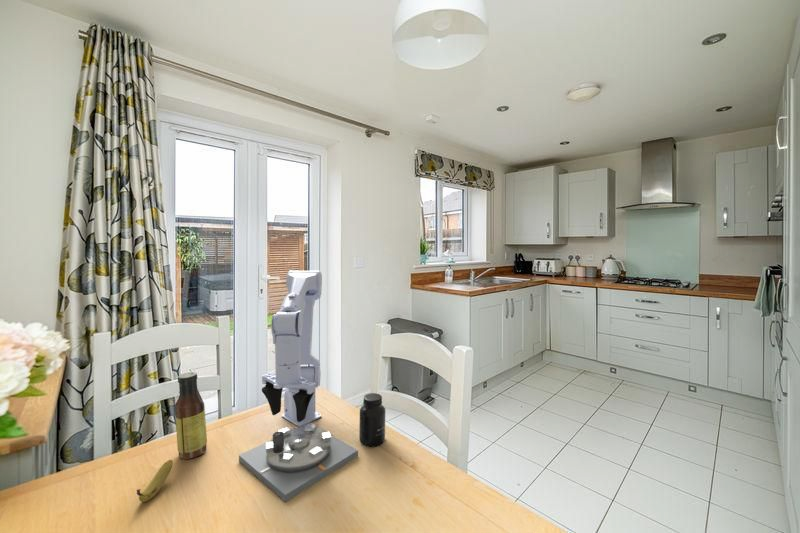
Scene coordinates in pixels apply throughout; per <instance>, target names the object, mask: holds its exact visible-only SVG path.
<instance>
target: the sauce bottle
mask: <svg viewBox="0 0 800 533" xmlns="http://www.w3.org/2000/svg"><path fill="white" fill-rule="evenodd" d="M197 380H198V373H197V372H196V371H190V372H184V373H181V374H179V375H178V376H177V382H178V385H179V386H178V388H179V392H178V393H179V396H178V398H177V401H176V402H175V404H174V409H175V415H174V416H175V428H176V429H175V430H176V431H175V432H176V442H177V451H178V457H179V458H181V459H184V460H190V459H195V458H197V457H199V456H201V455H202V454H204V453H205V452H206V451H207V446H208V445H207V444H208V436H207V435H208V434H207V422H206V410H205V409H206V407H205V402H204V401H203V398H202V396H201V393H200V392H199V389H198V381H197Z"/></svg>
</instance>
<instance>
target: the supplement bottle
mask: <svg viewBox="0 0 800 533" xmlns="http://www.w3.org/2000/svg"><path fill="white" fill-rule="evenodd" d="M382 400H383V396H382V395H381V394H379V393H377V392H376V393H374V392H370V393H366V394H365V395H364V396H363V400H362V401H363V402H362V403H363V405H362V406H361V407H360V409H359V426H358V427H359V432H358V433H359V442H360V444H361V446H364V447H367V448H377V447H380V446H381V445H383V444H384V443H385V440H386V407H385V406H384V405H383V401H382Z"/></svg>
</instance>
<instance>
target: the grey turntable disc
mask: <svg viewBox="0 0 800 533" xmlns="http://www.w3.org/2000/svg"><path fill="white" fill-rule="evenodd" d="M317 427H318V425H317V424H314V423H312V424H307V425H306V427H303V428H298V427H296V428H292V429H290V428H289V427H284V428H281V429H279V430H277V431H275V432H274V433H273V434H272V439H271V441H270V440H269V441H270V442H269V443H267V444H266V461H267V463H268V465H269V466H270V467H271V468H273V469H275V470H278V471H282V472H299V471H304V470H308V469H311V468H313V467H315V466H317V465H319V464H320V463H322V462H323V461H324V460H325V459H326V458H327V457H328V456H329V454H330V451H331V436H330V434H331V433H330V431H326V432H325V430H324V429H322V428H320V429H317ZM321 429H322V430H321ZM323 430H324V431H323Z"/></svg>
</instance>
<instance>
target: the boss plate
mask: <svg viewBox="0 0 800 533" xmlns="http://www.w3.org/2000/svg"><path fill="white" fill-rule="evenodd" d="M307 424H313V423H312V422H309V423H307ZM307 424H305V425H303V426H300V427H299V426H297V428H303V427H306V425H307ZM317 429H321V430H323V431H325V430H324V429H322V428H320V427H318V426H317ZM325 432H327V431H325ZM330 436H331V451H330V454H329V456H328V457H327V458H326V459H325V460H324V461H323V462H322V463H320V464H319V465H317V466H315V467H313V468H311V469H308V470H304V471H299V472H282V471H278V470H275V469H273V468H271V467H270V466H269V465H268V463H267V461H266V444H267V443H269V442H270V441H271V440H272V439H271V440H268V441H267V442H266V441H265V442H264V443H262V444H259V445H258V446H255V447H253V448H252V449H249V450H247V451H245V452H243V453H241V454H238V462H239V463H241V464H242V466H244V467H245V468H246V469H247V470H248V471H249V472H250V473H252V474H253V476H255V477H256V478H257V479H259V480H260V481H261V482H262V483H263V484H264V485H265V486H267V487H268V488H269V489H270V491H272V492H273V493H274V494H275V495H277V496H278V498H280V499H281V500H283V502H285V503H286V502H287V501H289V500H291V499H292V498H294V497H296V496H297V495H299V494H301V493H302V492H304V491H305V490H307V489H308V488H310V487H311V486H313V485H314V484H316V483H318V482H319V481H322V479H324V478H326V477H327V476H329V475H331V474H333V472H335V471H336V470H338V469H340V468H341V467H343V466H344V465H346V464H348V463H349V462H351V461H353V460H354V459H356V458H358V457H359V449H357V448H356V447H353V446H352V445H350V444H349V443H346V442H345V441H343V440H341V439H339V438H338V437H336V436H334V435H333V434H331V433H330Z"/></svg>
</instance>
